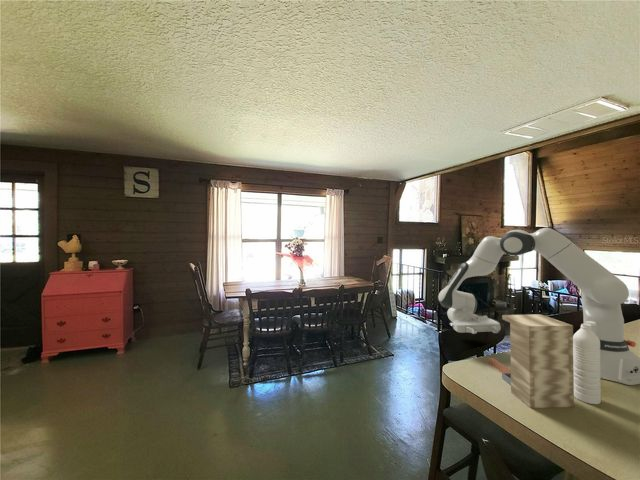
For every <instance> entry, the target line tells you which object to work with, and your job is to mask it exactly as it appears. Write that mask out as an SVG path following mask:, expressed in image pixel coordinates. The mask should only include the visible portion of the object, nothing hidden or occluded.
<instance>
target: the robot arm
mask: <svg viewBox="0 0 640 480" xmlns="http://www.w3.org/2000/svg"><path fill="white" fill-rule="evenodd" d="M532 251H535V252H536V253H538V254H539V255H541V256H542V257H543V258H544V259H546V260H547V262H549V263H550V264H551V265H552V266H554V267H555V268H556V269H557V270H558V271H559V272H560V273H561V274H563V275H564V276H565V277H566V278H567V279H568V280H569V281H570V282H572V283H573V284H574V285H575V286H576V287H577V288H578V289H580V296H581V304H582V305H581V308H582V313H583V314H582V316H583V320H582V321H583V324H586V321H592V322H596V326H591V330H592V331H593V332H594V333H595V334H596V336H597V337H598V338H599V340H600V379H604V380H608V381H612V382H617V383H620V384H624V385H627V386H635V385H640V356H639V355H637V354H636V353H635V352H633V350H632V351H631V350H630V347H632V348H635V347H636V346H637V343H636V342H635V341H632V340H629V339H628V340H626V339H625V319H624V316H623V311H622V306H621V305H622V304H624V303H625V302H626V301H627V300H628V298H629V296H630V292H629V291H630V290H629V288H628V285H626V284H625V282H624V281H622V279H620V278H619V277H617V276H616V275H615V274H614V273H613V272H611V271H609V270H608V268H606V267H605V266H604V265H602V264H601V263H599V262H598V261H597V260H595V259H594V258H592V257H591V256H590V255H588V253H586V252H585V251H583V250H582V248H580V247H579V246H577V245H576V243H574V242H572V241H571V240H570V239H569V238H567V236H564V235H563V234H561V233H559V232H558V231H557V230H555V229H553V228H550V227H543V228H539V229H538V230H536V231H534V232H529V231H528V230H526V229H523V228H515V229H512V230H508V231H507V232H506V233H504V234H503V235H502V236H501V237H497V236H493V235H489V236H485V237H483V238H482V240H480V243H479V244H477V247H476V249H475V250H474V252H473V254H472V256H471V257H470V258H469V259H468V260H467V261H465V262H462V263H460V265H459V266H458V267H457V269H456V270H455V272H454V273H453V274H452V276H451V278H449V280H448V281H447V283H446V284H445V286H444V287H443V288H441V289H440V291H439V293H438V296H437V298H438V302H439V304H440V305H441V306H442V308H448V310H447V311H446V313H447V314H446V315H447V317H448V319H449V321H450V322H449V325H450V326H451V327H452V328H453V330H454V331H456V332H457V333H461V334H462V333H470V334H472V335H475V334H476V335H477V333H483V332H484V333H485V332H487V333H488V332H489V333H490V332H492V333H493V334H498V333H499V332H500V331H501V323H500V322H499V321H497V320H494V319H492V318H491V317H490V318H489V317H488V316H487V315H483V314H475V313H476V310H477V308H478V301H477V298H476V297H475V295H474V294H473V293H469V292H464V291H460V290H458V289H459V287H460V286H461V284H462V283H463V281H465V280H466V279H469V278H472V277H480V276H482V277H483V276H487V275H490V274H492V273H493V271H495V269H496V268H497V266H498V263H499V262H500V261H501V258H502V257H503V255H504V254H506V255H509V256H522V255H525V254H527V253H530V252H532ZM589 325H590V324H589Z"/></svg>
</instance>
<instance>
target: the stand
mask: <svg viewBox="0 0 640 480" xmlns="http://www.w3.org/2000/svg"><path fill="white" fill-rule="evenodd" d="M501 317H502V320H503V321H506V322H507V323H509V324H510V327H509V331H510V332H509V335H510V336H509V339H510V343H509V344H510V347H509V348H510V370H511V385H510V393H511V394H513V396H515V397H516V398H517V399H518V400H520V401H521V402H522V403H524V404H525V405H526V406H527V407H528V408H530V409H531V408H532V409H533V408H534V409H538V408H540V409H541V408H574V407H575V396H574V370H573V335H574V325H573V324H570V323H566V322H565V321H561V320H558V319H556V318H553V317H549V316H547V315H545V314H544V315H543V314H541V313H540V314H538V313H537V314H502V315H501Z"/></svg>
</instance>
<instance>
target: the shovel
mask: <svg viewBox="0 0 640 480" xmlns="http://www.w3.org/2000/svg"><path fill="white" fill-rule="evenodd" d="M489 363H490V364H489ZM488 364H489V365H490V366H492V367H493V366H494V367H493V368H494V369H496V370H497V369H498V370H497V371H499V372H500V373H501V375H502V376H501V379H502V380H503V381H504V382H505V383H507V384H508V385H509V386H511V368H509V367H508V366H506V365H505V364H503V363H502V362H501V361H499V360H497V359H496V358H495V357H488Z"/></svg>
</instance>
